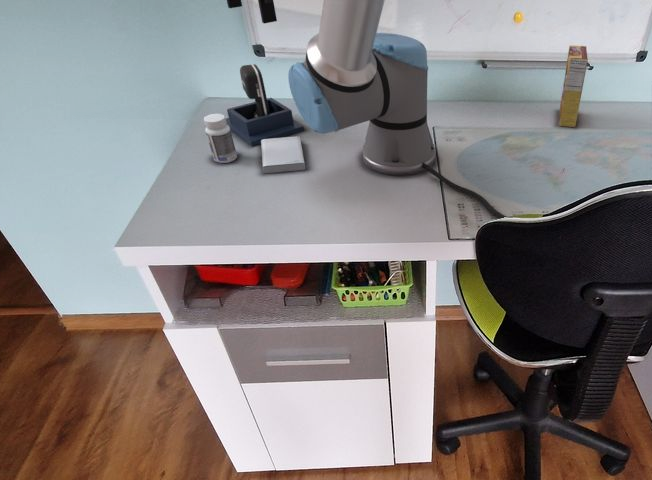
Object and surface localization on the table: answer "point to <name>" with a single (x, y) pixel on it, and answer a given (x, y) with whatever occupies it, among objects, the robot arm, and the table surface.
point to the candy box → (573, 85)
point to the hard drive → (282, 154)
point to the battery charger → (255, 88)
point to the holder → (262, 122)
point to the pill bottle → (220, 138)
